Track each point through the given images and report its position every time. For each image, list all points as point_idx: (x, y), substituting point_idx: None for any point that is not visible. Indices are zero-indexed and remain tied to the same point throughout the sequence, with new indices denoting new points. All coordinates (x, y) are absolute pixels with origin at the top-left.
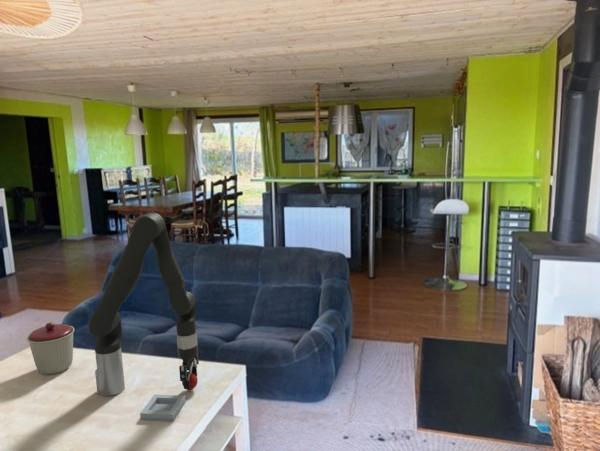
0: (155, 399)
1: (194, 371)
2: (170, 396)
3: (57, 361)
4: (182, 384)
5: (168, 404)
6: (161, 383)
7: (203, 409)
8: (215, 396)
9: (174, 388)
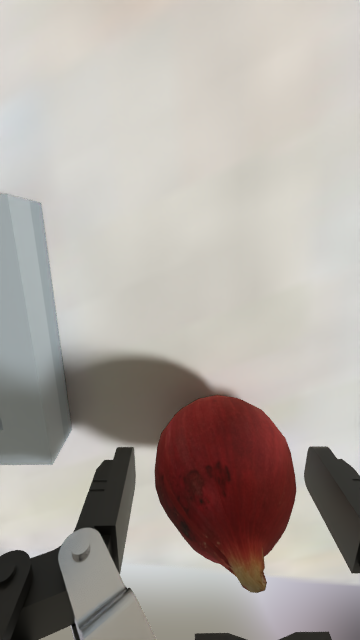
0: None
1: (338, 526)
2: (13, 363)
3: None
4: (194, 406)
5: None
6: (322, 138)
7: (20, 533)
8: (153, 552)
9: (234, 294)
